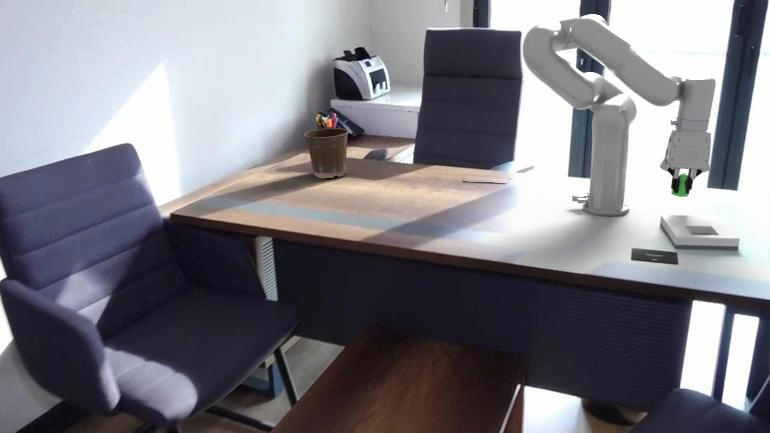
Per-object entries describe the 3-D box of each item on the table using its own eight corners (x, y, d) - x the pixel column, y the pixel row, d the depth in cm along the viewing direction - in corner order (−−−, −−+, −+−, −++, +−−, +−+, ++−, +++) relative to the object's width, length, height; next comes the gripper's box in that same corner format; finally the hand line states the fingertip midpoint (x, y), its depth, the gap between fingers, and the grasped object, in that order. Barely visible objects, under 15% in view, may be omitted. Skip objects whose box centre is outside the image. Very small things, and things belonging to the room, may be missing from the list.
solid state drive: (677, 266, 140) (678, 263, 139) (630, 261, 143) (631, 258, 143) (676, 254, 146) (677, 252, 145) (631, 250, 149) (632, 247, 149)
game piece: (670, 191, 168) (673, 170, 166) (687, 192, 167) (691, 171, 165) (672, 196, 164) (675, 174, 162) (689, 197, 163) (693, 176, 161)
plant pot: (302, 181, 221) (298, 137, 216) (314, 169, 236) (310, 128, 231) (346, 181, 218) (342, 136, 213) (355, 169, 233) (352, 127, 228)
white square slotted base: (675, 248, 148) (676, 237, 147) (659, 225, 163) (661, 215, 162) (738, 250, 145) (739, 238, 144) (716, 226, 160) (718, 216, 159)
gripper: (662, 127, 157) (652, 194, 163) (730, 129, 154) (716, 198, 160) (656, 121, 163) (646, 186, 170) (720, 122, 161) (707, 189, 167)
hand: (680, 191), depth 165 cm, fingers closed on game piece, 2 cm apart
